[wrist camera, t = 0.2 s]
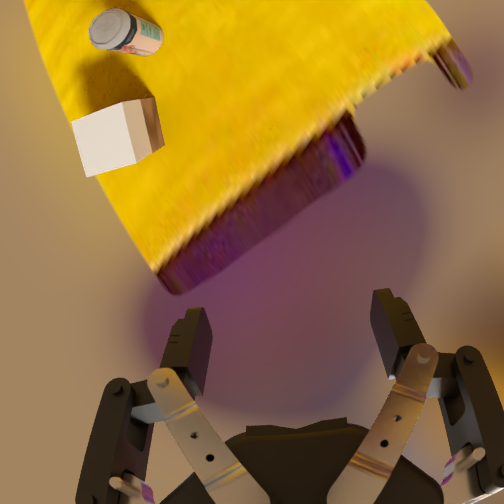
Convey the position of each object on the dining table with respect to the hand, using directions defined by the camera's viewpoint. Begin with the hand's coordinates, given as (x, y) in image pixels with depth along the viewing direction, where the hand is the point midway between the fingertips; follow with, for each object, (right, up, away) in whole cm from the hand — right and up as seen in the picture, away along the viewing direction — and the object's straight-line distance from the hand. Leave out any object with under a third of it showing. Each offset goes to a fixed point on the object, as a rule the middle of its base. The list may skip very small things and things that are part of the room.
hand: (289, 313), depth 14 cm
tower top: (-18, +17, +18) cm, 31 cm away
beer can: (-15, +31, +16) cm, 38 cm away
